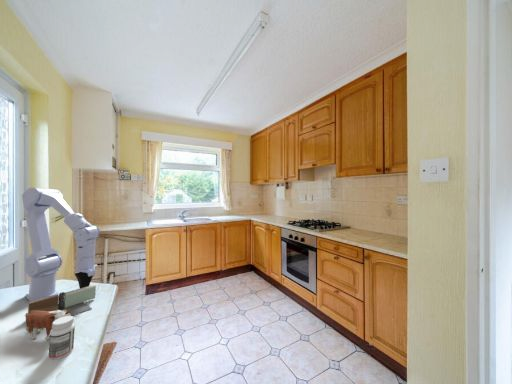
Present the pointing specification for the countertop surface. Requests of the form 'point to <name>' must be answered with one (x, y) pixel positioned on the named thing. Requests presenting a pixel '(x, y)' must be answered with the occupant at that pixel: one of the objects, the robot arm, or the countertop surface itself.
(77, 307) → the board
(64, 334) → the pill bottle
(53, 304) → the fence section
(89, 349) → the countertop surface
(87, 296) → the fence gate
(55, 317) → the bull figurine
